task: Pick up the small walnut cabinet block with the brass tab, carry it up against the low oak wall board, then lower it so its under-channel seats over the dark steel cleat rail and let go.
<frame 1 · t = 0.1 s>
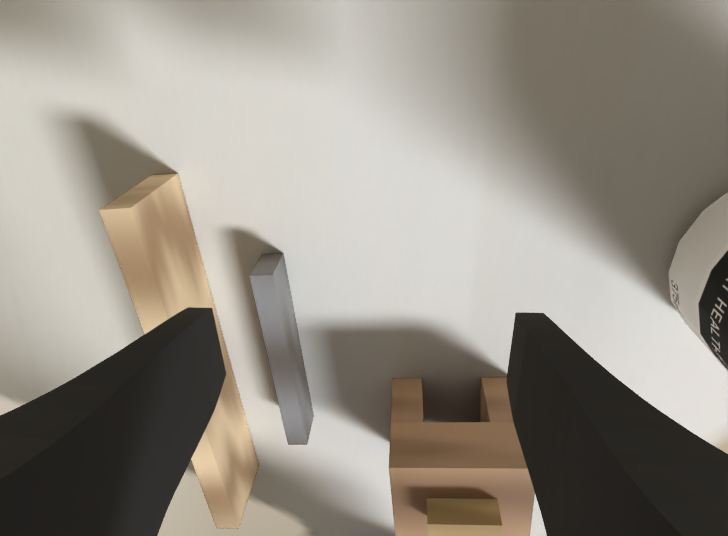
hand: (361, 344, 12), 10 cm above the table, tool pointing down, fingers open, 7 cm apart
cabinet block: (451, 414, 26), on the table
cleat board: (290, 342, 24), on the table
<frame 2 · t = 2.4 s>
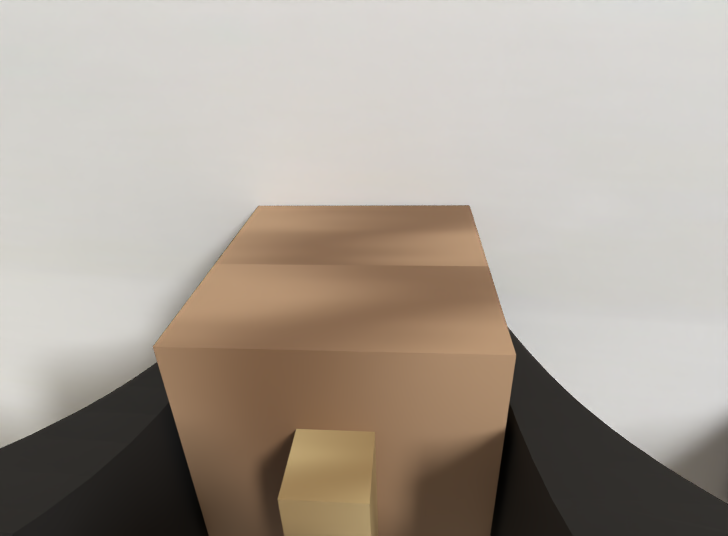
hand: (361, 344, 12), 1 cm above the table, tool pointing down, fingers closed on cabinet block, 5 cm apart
cabinet block: (365, 312, 13), on the table, touching gripper
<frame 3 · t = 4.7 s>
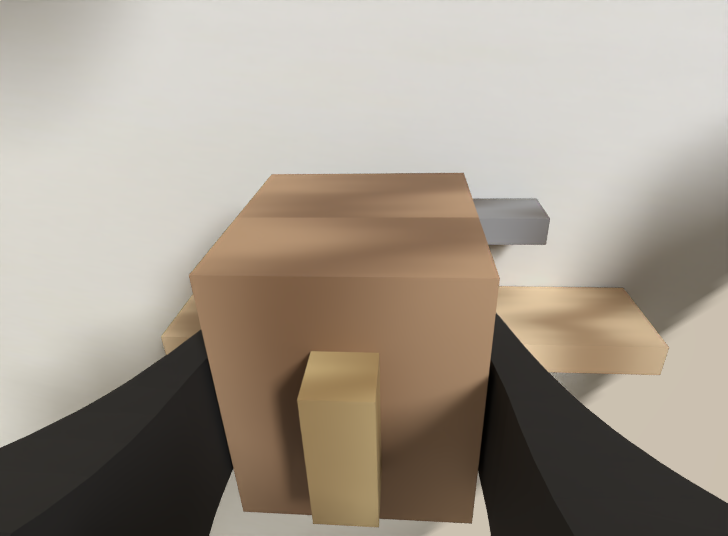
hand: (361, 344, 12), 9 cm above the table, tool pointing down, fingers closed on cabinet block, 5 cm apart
cabinet block: (369, 274, 14), point 6 cm above the table, touching gripper
cleat board: (405, 211, 19), on the table
when the fingers open (3 cm above the table, at t = 6.9 s): cabinet block stays where it is, on the table.
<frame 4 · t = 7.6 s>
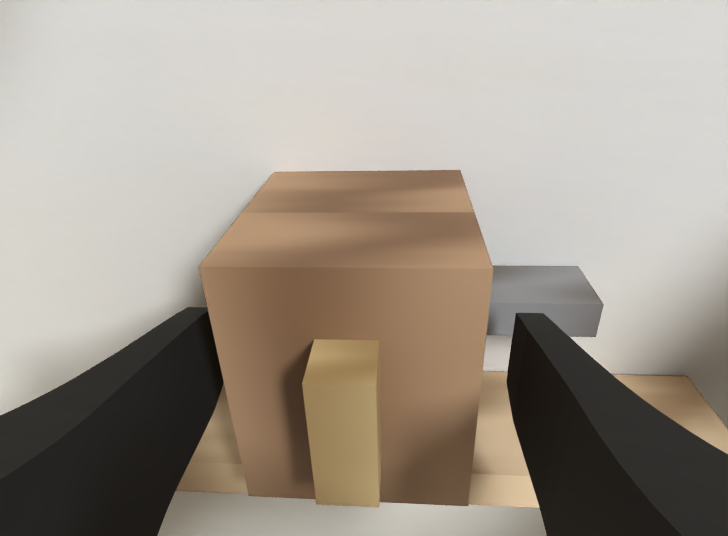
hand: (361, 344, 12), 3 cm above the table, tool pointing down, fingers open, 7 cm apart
cabinet block: (368, 269, 14), on the table
cleat board: (402, 280, 14), on the table
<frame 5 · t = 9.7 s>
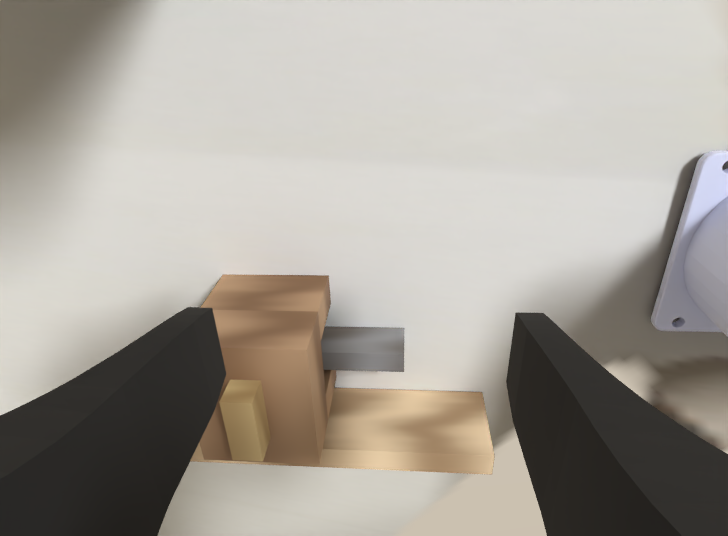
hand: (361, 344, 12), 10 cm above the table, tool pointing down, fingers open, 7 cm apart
cabinet block: (282, 328, 24), on the table
cleat board: (302, 334, 24), on the table
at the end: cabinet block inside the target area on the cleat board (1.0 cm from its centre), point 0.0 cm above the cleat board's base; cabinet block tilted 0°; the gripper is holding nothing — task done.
